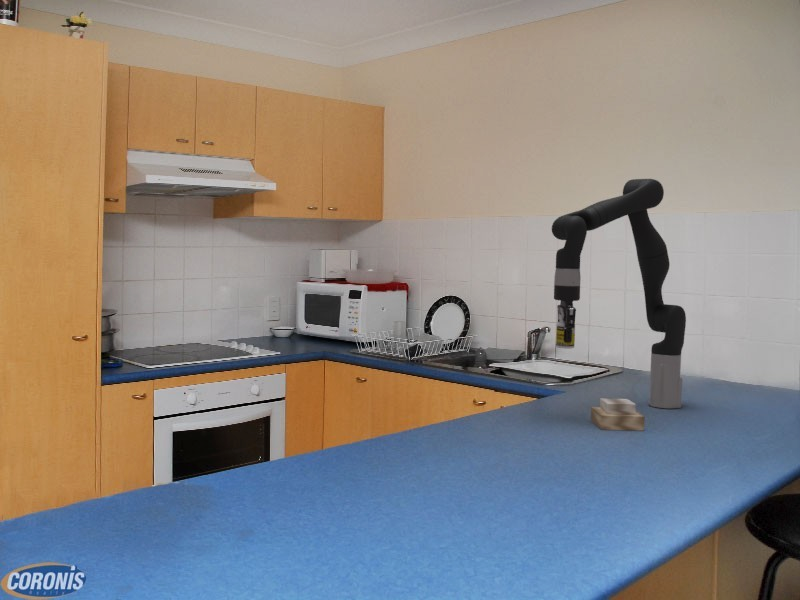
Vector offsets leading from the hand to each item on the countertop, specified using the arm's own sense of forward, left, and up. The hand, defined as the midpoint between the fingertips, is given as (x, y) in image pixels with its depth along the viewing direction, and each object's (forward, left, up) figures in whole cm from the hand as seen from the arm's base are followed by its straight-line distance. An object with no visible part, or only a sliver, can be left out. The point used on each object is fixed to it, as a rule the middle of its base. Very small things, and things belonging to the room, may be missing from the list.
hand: (565, 340), depth 231 cm
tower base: (-14, +8, -23) cm, 28 cm away
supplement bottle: (0, 0, -2) cm, 2 cm away
